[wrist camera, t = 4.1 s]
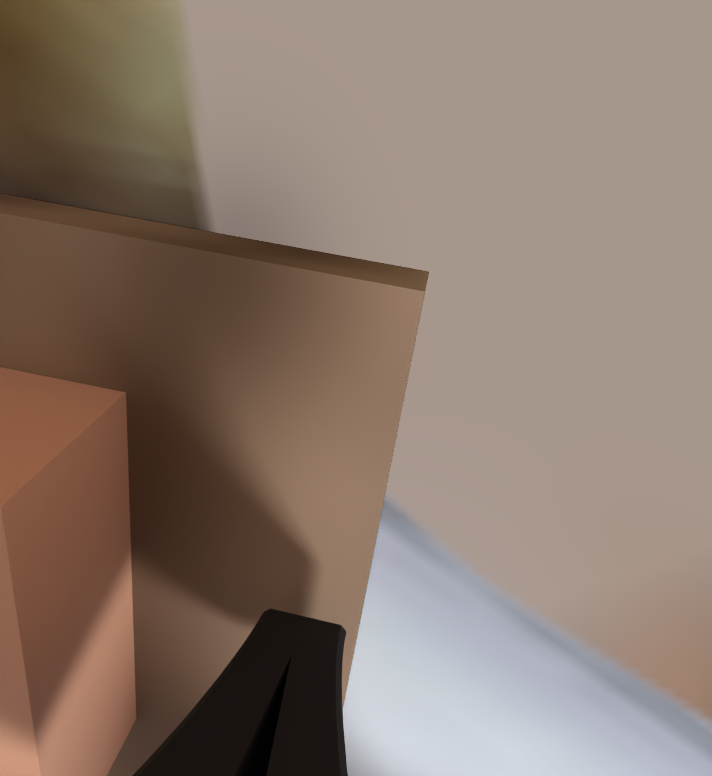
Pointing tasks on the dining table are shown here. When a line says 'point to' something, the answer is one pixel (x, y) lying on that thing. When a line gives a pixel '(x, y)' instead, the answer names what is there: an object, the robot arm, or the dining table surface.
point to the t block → (64, 577)
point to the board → (220, 422)
